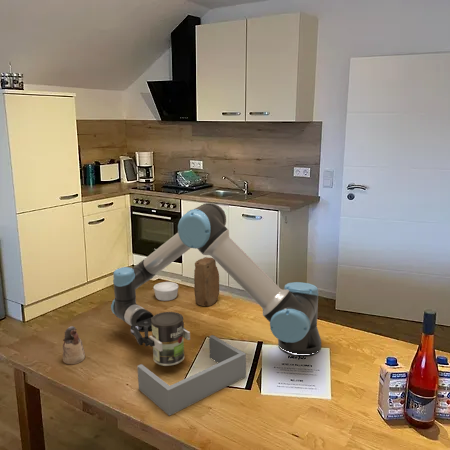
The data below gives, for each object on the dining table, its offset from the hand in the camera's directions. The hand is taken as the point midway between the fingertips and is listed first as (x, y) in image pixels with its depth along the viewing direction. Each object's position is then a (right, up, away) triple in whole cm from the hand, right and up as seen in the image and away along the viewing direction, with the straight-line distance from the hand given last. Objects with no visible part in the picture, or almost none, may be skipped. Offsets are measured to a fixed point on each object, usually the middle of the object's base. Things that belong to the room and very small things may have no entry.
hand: (175, 341), depth 147 cm
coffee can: (-3, -7, +5) cm, 9 cm away
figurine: (-36, -9, +11) cm, 38 cm away
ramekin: (-11, +4, +62) cm, 63 cm away
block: (+8, +3, +55) cm, 56 cm away
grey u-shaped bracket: (+6, -12, -4) cm, 14 cm away
